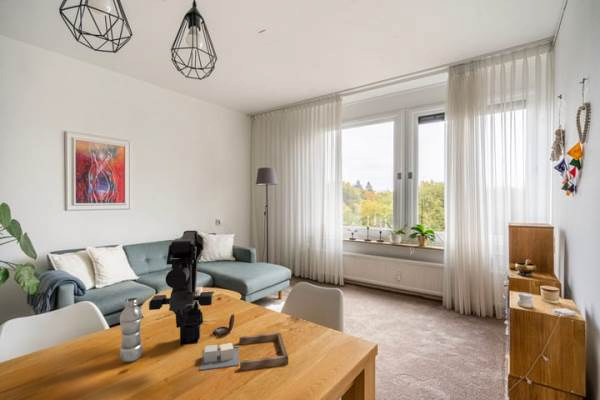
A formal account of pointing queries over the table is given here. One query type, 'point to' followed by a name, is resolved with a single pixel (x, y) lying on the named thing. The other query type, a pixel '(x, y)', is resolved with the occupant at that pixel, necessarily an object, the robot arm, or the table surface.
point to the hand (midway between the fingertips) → (182, 326)
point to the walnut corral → (264, 361)
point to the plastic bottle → (131, 331)
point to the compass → (225, 328)
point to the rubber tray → (221, 363)
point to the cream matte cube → (210, 353)
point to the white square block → (226, 351)
